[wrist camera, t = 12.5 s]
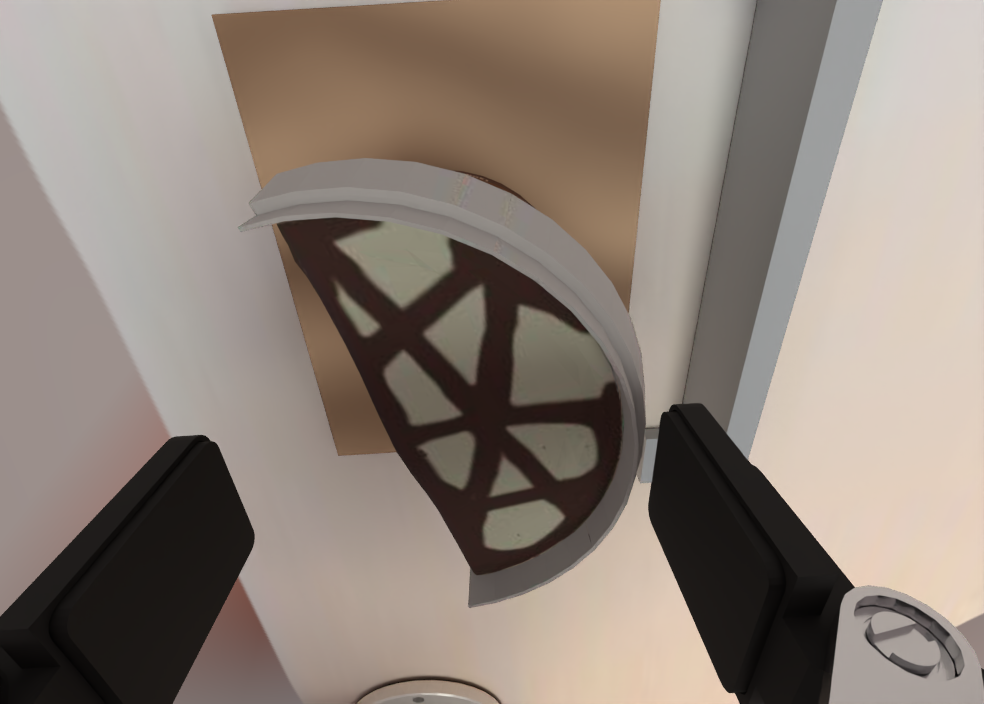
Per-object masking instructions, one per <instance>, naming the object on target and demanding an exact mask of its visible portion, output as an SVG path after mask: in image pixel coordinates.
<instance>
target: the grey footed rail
mask: <svg viewBox="0 0 984 704" xmlns="http://www.w3.org/2000/svg"><path fill="white" fill-rule="evenodd" d="M882 2H883V0H758V1H757V6H756V12H755V17H754V23H753V28H752V33H751V39H750V44H749V49H748V55H747V60H746V66H745V71H744V76H743V82H742V87H741V92H740V98H739V103H738V109H737V114H736V119H735V125H734V130H733V135H732V141H731V146H730V152H729V157H728V162H727V168H726V173H725V178H724V184H723V189H722V195H721V200H720V205H719V211H718V216H717V221H716V227H715V232H714V237H713V243H712V248H711V254H710V259H709V264H708V270H707V275H706V280H705V286H704V291H703V297H702V302H701V307H700V313H699V318H698V323H697V329H696V334H695V340H694V345H693V350H692V356H691V361H690V366H689V372H688V377H687V383H686V388H685V393H684V399H683V404H689V403H701V404H703V405H704V406H705V407H706V408H707V410H708V411H709V412H710V413H711V415H712V416H713V417H714V418H715V420H716V421H717V422H718V423H719V425H720V426H721V427H722V428H723V430H724V431H725V432H726V433H727V435H728V436H729V437H730V438H731V440H732V441H733V442H734V443H735V445H736V446H737V447H738V448H739V450H740V451H741V452H742V453H743V455H744V456H745V457H746V458H747V460H748V457H749V454H750V451H751V447H752V444H753V440H754V437H755V434H756V430H757V427H758V423H759V420H760V417H761V413H762V410H763V406H764V403H765V400H766V396H767V393H768V389H769V386H770V383H771V379H772V376H773V372H774V369H775V366H776V362H777V359H778V355H779V352H780V349H781V345H782V342H783V338H784V335H785V332H786V328H787V325H788V321H789V318H790V315H791V311H792V308H793V304H794V301H795V298H796V294H797V291H798V287H799V284H800V281H801V277H802V274H803V270H804V267H805V264H806V260H807V257H808V253H809V250H810V247H811V243H812V240H813V236H814V233H815V230H816V226H817V223H818V219H819V216H820V213H821V209H822V206H823V202H824V199H825V196H826V192H827V189H828V185H829V182H830V179H831V175H832V172H833V168H834V165H835V162H836V158H837V155H838V151H839V148H840V145H841V141H842V138H843V134H844V131H845V128H846V124H847V121H848V117H849V114H850V111H851V107H852V104H853V100H854V97H855V94H856V90H857V87H858V83H859V80H860V77H861V73H862V70H863V66H864V63H865V59H866V56H867V53H868V49H869V46H870V42H871V39H872V36H873V32H874V29H875V25H876V22H877V19H878V15H879V12H880V8H881V5H882ZM658 434H659V428H652V429H645V435H644V444H643V453H642V458H641V461H640V464H639V467H638V470H637V473H636V474H637V477H638V479H639V481H640V483H650V482H652V476H653V469H654V462H655V455H656V448H657V441H658Z"/></svg>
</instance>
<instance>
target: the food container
mask: <svg viewBox="0 0 984 704" xmlns="http://www.w3.org/2000/svg"><path fill="white" fill-rule="evenodd" d="M249 204H250V206H251V208H252V209H253V211H254V212H255V214H256V216H255V217H253V218H252V219H250V220H248V221H247V222H245V223H244V224H242V225H241V226H239V227H238V229H239V230H240V232H243V231H247V230H251V229H255V228H259V227H263V226H267V225H271V224H275V223H276V224H277V226H278V228H279V230H280V232H281V234H282V236H283V238H284V239H285V241H286V243H287V244H288V246H289V249H290V251H291V254H292V256H293V258H294V261H295V262H296V264H297V265H298V266H299V268H300V269H301V270H302V271H303V273H304V274H305V275H306V277H307V278H308V280H309V281H310V283H311V285H312V286H313V288H314V289H315V291H316V292H317V294H318V296H319V297H320V299H321V301H322V303H323V305H324V306H325V308H326V310H327V312H328V314H329V316H330V317H331V319H332V321H333V323H334V325H335V327H336V328H337V330H338V332H339V334H340V336H341V338H342V339H343V341H344V343H345V345H346V347H347V349H348V351H349V353H350V355H351V357H352V359H353V361H354V363H355V365H356V367H357V369H358V371H359V373H360V375H361V378H362V380H363V382H364V384H365V386H366V389H367V391H368V393H369V395H370V398H371V400H372V402H373V404H374V406H375V409H376V411H377V413H378V415H379V417H380V419H381V421H382V424H383V426H384V428H385V430H386V432H387V434H388V436H389V438H390V440H391V442H392V444H393V446H394V448H395V450H396V452H397V453H398V454H399V456H400V457H401V459H402V460H403V462H404V463H405V465H406V466H407V468H408V469H409V471H410V472H411V474H412V475H413V476H414V478H415V479H416V480H417V481H418V483H419V484H420V485H421V487H422V488H423V489H424V491H425V492H426V493H427V495H428V496H429V497H430V499H431V500H432V502H433V503H434V505H435V506H436V508H437V509H438V511H439V512H440V514H441V516H442V518H443V519H444V521H445V523H446V525H447V526H448V528H449V530H450V532H451V533H452V535H453V537H454V539H455V540H456V542H457V544H458V546H459V548H460V549H461V551H462V553H463V555H464V557H465V558H466V560H467V562H468V564H469V566H470V584H469V603H468V607H469V608H471V607H476V606H482V605H487V604H492V603H497V602H500V601H503V600H507V599H510V598H513V597H516V596H519V595H523V594H525V593H527V592H530V591H532V590H534V589H536V588H538V587H541V586H543V585H545V584H547V583H550V582H551V581H553V580H554V579H556V578H558V577H559V576H561V575H563V574H564V573H566V572H567V571H569V570H571V569H572V568H574V567H575V566H576V565H577V564H578V563H580V562H581V561H582V560H583V559H584V558H586V557H587V556H588V555H589V554H590V553H591V552H593V551H594V550H595V549H596V548H597V546H598V545H599V544H600V543H601V542H602V541H603V539H604V538H605V537H606V536H607V535H608V533H609V532H610V531H611V530H612V529H613V527H614V525H615V524H616V522H617V520H618V518H619V517H620V515H621V513H622V511H623V510H624V508H625V506H626V504H627V502H628V498H629V495H630V492H631V489H632V486H633V483H634V480H635V477H636V473H637V470H638V467H639V464H640V461H641V458H642V453H643V444H644V435H645V426H646V418H645V388H644V376H643V366H642V356H641V350H640V347H639V344H638V340H637V337H636V334H635V330H634V327H633V324H632V321H631V317H630V316H629V314H628V312H627V310H626V308H625V306H624V304H623V302H622V300H621V299H620V297H619V295H618V293H617V291H616V289H615V287H614V285H613V283H612V282H611V281H610V280H609V278H608V277H607V276H606V274H605V273H604V272H603V271H602V269H601V268H600V267H599V266H598V264H597V263H596V262H595V260H594V259H593V258H592V257H591V255H590V254H589V253H588V252H587V250H586V249H585V248H584V247H582V246H581V245H580V244H579V243H578V242H577V241H576V240H575V239H573V238H572V237H571V236H570V235H569V234H568V233H567V232H566V231H565V230H563V229H562V228H561V227H560V226H559V225H558V224H557V223H556V222H554V221H553V220H552V219H551V218H549V217H548V216H546V215H544V214H543V213H541V212H540V211H538V210H536V209H535V207H533V206H532V205H531V204H530V203H529V202H528V201H526V200H525V199H524V198H523V197H522V196H521V195H520V194H518V193H516V192H515V191H513V190H511V189H510V188H508V187H506V186H505V185H503V184H501V183H499V182H496V181H494V180H492V179H489V178H487V177H484V176H481V175H477V174H472V173H468V172H464V171H453V170H447V169H443V168H439V167H435V166H431V165H427V164H422V163H418V162H411V161H398V160H385V159H372V158H361V159H350V160H339V161H329V162H318V163H314V164H310V165H307V166H303V167H299V168H296V169H292V170H288V171H285V172H281V173H278V174H276V175H275V176H274V177H273V178H272V179H271V180H270V181H269V182H268V183H267V184H266V186H265V187H264V188H263V189H262V190H261V191H260V192H259V193H258V194H257V195H256V196H255V197H254V198H253V199H252V200H251V201H250V202H249Z"/></svg>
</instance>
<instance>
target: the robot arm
mask: <svg viewBox="0 0 984 704" xmlns="http://www.w3.org/2000/svg"><path fill="white" fill-rule="evenodd" d="M648 510H649V517H650V521H651V523H652V526H653V528H654V530H655V533H656V535H657V537H658V539H659V542H660V544H661V546H662V549H663V551H664V553H665V556H666V558H667V560H668V562H669V565H670V567H671V569H672V572H673V574H674V576H675V578H676V581H677V583H678V585H679V588H680V590H681V592H682V594H683V597H684V599H685V601H686V604H687V606H688V608H689V611H690V613H691V615H692V617H693V620H694V622H695V624H696V627H697V629H698V631H699V633H700V636H701V638H702V640H703V643H704V645H705V647H706V649H707V652H708V654H709V656H710V659H711V661H712V663H713V666H714V668H715V670H716V672H717V675H718V677H719V679H720V681H721V683H722V685H723V687H724V688H725V690H726V691H727V692H728V693H735V694H736V696H737V698H738V701H739V703H740V704H984V669H982V668H981V667H980V665H979V662H978V659H977V656H976V653H975V651H974V650H973V648H972V647H971V646H970V644H969V643H968V641H967V640H966V639H965V637H964V636H963V635H962V634H961V633H960V632H959V631H958V630H957V629H956V628H955V627H954V626H953V625H952V624H951V623H950V622H949V621H948V620H947V619H946V618H945V617H943V616H942V615H940V614H939V613H937V612H936V611H935V610H933V609H932V608H930V607H929V606H928V605H926V604H924V603H922V602H920V601H918V600H916V599H914V598H913V597H911V596H909V595H907V594H904V593H901V592H898V591H895V590H892V589H889V588H885V587H877V586H862V587H856V588H855V587H854V586H853V584H852V583H851V582H850V581H849V580H848V578H847V577H846V576H845V575H844V573H843V572H842V571H841V570H840V568H839V567H838V566H837V565H836V563H835V562H834V561H833V560H832V559H831V557H830V556H829V555H828V554H827V552H826V551H825V550H824V549H823V547H822V546H821V545H820V544H819V543H818V541H817V540H816V539H815V538H814V536H813V535H812V534H811V533H810V531H809V530H808V529H807V528H806V526H805V525H804V524H803V523H802V522H801V520H800V519H799V518H798V517H797V515H796V514H795V513H794V512H793V510H792V509H791V508H790V507H789V505H788V504H787V503H786V502H785V501H784V499H783V498H782V497H781V496H780V494H779V493H778V492H777V491H776V489H775V488H774V487H773V486H772V484H771V483H770V482H769V481H768V480H767V478H766V477H765V476H764V475H763V473H762V472H761V471H760V470H759V469H758V468H757V467H756V466H754V465H751V463H750V462H749V461H748V460H747V458H746V457H745V456H744V455H743V453H742V452H741V451H740V450H739V448H738V447H737V446H736V445H735V443H734V442H733V441H732V440H731V438H730V437H729V436H728V435H727V433H726V432H725V431H724V430H723V428H722V427H721V426H720V425H719V423H718V422H717V421H716V420H715V418H714V417H713V416H712V415H711V413H710V412H709V411H708V410H707V408H706V407H705V406H704V405H703V404H701V403H689V404H674V405H672V406H671V407H670V409H669V412H664V413H663V414H662V415H661V420H660V427H659V434H658V441H657V448H656V455H655V462H654V469H653V476H652V483H651V490H650V497H649V505H648ZM254 539H255V536H254V530H253V528H252V525H251V523H250V521H249V518H248V516H247V513H246V511H245V509H244V506H243V504H242V502H241V499H240V497H239V494H238V492H237V490H236V487H235V485H234V483H233V480H232V478H231V475H230V473H229V471H228V468H227V466H226V463H225V461H224V459H223V456H222V454H221V452H220V449H219V447H218V445H217V444H216V443H215V442H212V441H210V440H209V438H208V437H206V436H204V435H194V436H178V437H173V438H171V439H169V440H168V441H167V442H166V443H165V444H164V445H163V446H162V447H161V448H160V449H159V450H158V451H157V453H155V454H154V456H153V457H152V458H151V459H150V460H149V461H148V462H147V463H146V464H145V465H144V466H143V467H142V468H141V469H140V470H139V471H138V472H137V474H135V476H134V477H133V478H132V479H131V480H130V481H129V482H128V483H127V484H126V485H125V486H124V487H123V488H122V489H121V490H120V491H119V492H118V493H117V495H116V496H115V497H114V498H113V499H112V500H111V501H110V502H109V503H108V504H107V505H106V506H105V507H104V508H103V509H102V510H101V511H100V512H99V513H98V515H96V517H95V518H94V519H93V520H92V521H91V522H90V523H89V524H88V525H87V526H86V527H85V528H84V529H83V530H82V531H81V532H80V533H79V535H77V536H76V538H75V539H74V540H73V541H72V542H71V543H70V544H69V545H68V546H67V547H66V548H65V549H64V550H63V551H62V552H61V554H59V555H58V556H57V558H56V559H55V560H54V561H53V562H52V563H51V564H50V565H49V566H48V567H47V568H46V569H45V570H44V571H43V572H42V573H41V574H40V575H39V577H37V579H36V580H35V581H34V582H33V583H32V584H31V585H30V586H29V587H28V588H27V589H26V590H25V591H24V592H23V593H22V594H21V595H20V596H19V597H18V599H17V600H16V601H15V602H14V603H13V604H12V605H11V606H10V607H9V608H8V609H7V610H6V611H5V612H4V613H3V614H2V615H1V616H0V704H173V701H174V700H175V697H176V696H177V694H178V692H179V690H180V688H181V686H182V684H183V682H184V680H185V678H186V676H187V674H188V673H189V671H190V669H191V667H192V665H193V663H194V661H195V659H196V657H197V655H198V653H199V651H200V649H201V647H202V645H203V643H204V642H205V639H206V637H207V636H208V634H209V632H210V630H211V628H212V626H213V624H214V622H215V620H216V618H217V616H218V614H219V612H220V611H221V609H222V606H223V605H224V603H225V601H226V599H227V597H228V595H229V593H230V591H231V589H232V587H233V585H234V583H235V581H236V580H237V578H238V576H239V574H240V572H241V570H242V568H243V566H244V564H245V562H246V560H247V558H248V556H249V554H250V552H251V550H252V548H253V545H254ZM357 704H499V703H498V702H497V701H496V700H495V699H494V698H493V697H492V696H490V695H489V694H487V693H486V692H484V691H482V690H479V689H477V688H475V687H472V686H468V685H465V684H462V683H456V682H450V681H441V680H414V681H407V682H400V683H396V684H392V685H388V686H385V687H382V688H380V689H377V690H375V691H373V692H371V693H370V694H368V695H366V696H365V697H363V698H362V699H361V700H360V701H359V702H358V703H357Z"/></svg>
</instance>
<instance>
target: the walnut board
mask: <svg viewBox="0 0 984 704" xmlns="http://www.w3.org/2000/svg"><path fill="white" fill-rule="evenodd" d="M660 1H661V0H445V1H428V2H412V3H395V4H379V5H363V6H346V7H330V8H313V9H297V10H280V11H264V12H247V13H231V14H215V15H212V18H213V22H214V25H215V29H216V32H217V36H218V39H219V43H220V46H221V50H222V53H223V56H224V60H225V63H226V67H227V70H228V74H229V77H230V81H231V84H232V88H233V91H234V95H235V98H236V102H237V105H238V109H239V112H240V116H241V119H242V123H243V126H244V129H245V133H246V136H247V140H248V143H249V147H250V150H251V154H252V157H253V161H254V164H255V168H256V171H257V175H258V178H259V182H260V185H261V189H263V188H264V187H265V186H266V184H267V183H268V182H269V181H270V180H271V179H272V178H273V177H274V176H275V175H276V174H278V173H281V172H285V171H288V170H292V169H296V168H299V167H303V166H307V165H310V164H314V163H318V162H329V161H339V160H350V159H361V158H372V159H385V160H398V161H411V162H418V163H422V164H427V165H431V166H435V167H439V168H443V169H447V170H453V171H464V172H468V173H472V174H477V175H481V176H484V177H487V178H489V179H492V180H494V181H496V182H499V183H501V184H503V185H505V186H506V187H508V188H510V189H511V190H513V191H515V192H516V193H518V194H520V195H521V196H522V197H523V198H524V199H525V200H526V201H528V202H529V203H530V204H531V205H532V206H533V207H535V209H536V210H538V211H540V212H541V213H543V214H544V215H546V216H548V217H549V218H551V219H552V220H553V221H554V222H556V223H557V224H558V225H559V226H560V227H561V228H562V229H563V230H565V231H566V232H567V233H568V234H569V235H570V236H571V237H572V238H573V239H575V240H576V241H577V242H578V243H579V244H580V245H581V246H582V247H584V248H585V249H586V250H587V252H588V253H589V254H590V255H591V257H592V258H593V259H594V260H595V262H596V263H597V264H598V266H599V267H600V268H601V269H602V271H603V272H604V273H605V274H606V276H607V277H608V278H609V280H610V281H611V282H612V283H613V285H614V287H615V289H616V291H617V293H618V295H619V297H620V299H621V300H622V302H623V304H624V306H625V308H626V310H627V312H628V313H629V303H630V293H631V284H632V274H633V264H634V254H635V245H636V235H637V225H638V215H639V206H640V196H641V186H642V176H643V166H644V157H645V147H646V137H647V127H648V118H649V108H650V98H651V88H652V79H653V69H654V59H655V49H656V40H657V30H658V20H659V10H660ZM272 227H273V230H274V234H275V237H276V241H277V244H278V248H279V251H280V255H281V258H282V262H283V265H284V269H285V272H286V275H287V279H288V282H289V286H290V289H291V293H292V296H293V300H294V303H295V307H296V310H297V314H298V317H299V321H300V324H301V328H302V331H303V335H304V338H305V342H306V345H307V348H308V352H309V355H310V359H311V362H312V366H313V369H314V373H315V376H316V380H317V383H318V387H319V390H320V394H321V397H322V401H323V404H324V408H325V411H326V415H327V418H328V421H329V425H330V428H331V432H332V435H333V439H334V442H335V446H336V449H337V453H338V456H342V455H358V454H374V453H390V452H396V450H395V448H394V446H393V444H392V442H391V440H390V438H389V436H388V434H387V432H386V430H385V428H384V426H383V424H382V421H381V419H380V417H379V415H378V413H377V411H376V409H375V406H374V404H373V402H372V400H371V398H370V395H369V393H368V391H367V389H366V386H365V384H364V382H363V380H362V378H361V375H360V373H359V371H358V369H357V367H356V365H355V363H354V361H353V359H352V357H351V355H350V353H349V351H348V349H347V347H346V345H345V343H344V341H343V339H342V338H341V336H340V334H339V332H338V330H337V328H336V327H335V325H334V323H333V321H332V319H331V317H330V316H329V314H328V312H327V310H326V308H325V306H324V305H323V303H322V301H321V299H320V297H319V296H318V294H317V292H316V291H315V289H314V288H313V286H312V285H311V283H310V281H309V280H308V278H307V277H306V275H305V274H304V273H303V271H302V270H301V269H300V268H299V266H298V265H297V264H296V262H295V261H294V258H293V256H292V254H291V251H290V249H289V246H288V244H287V243H286V241H285V239H284V238H283V236H282V234H281V232H280V230H279V228H278V226H277V224H276V223H275V224H272Z"/></svg>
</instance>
